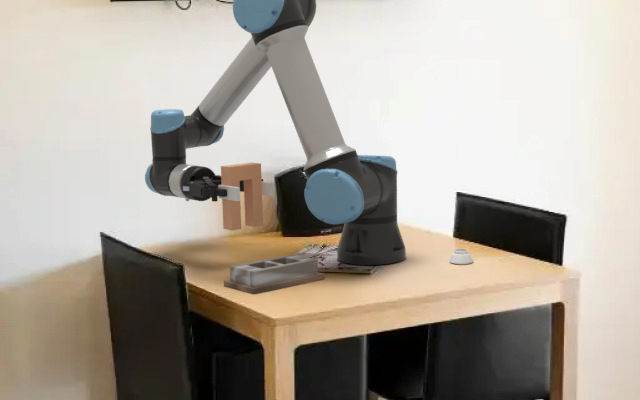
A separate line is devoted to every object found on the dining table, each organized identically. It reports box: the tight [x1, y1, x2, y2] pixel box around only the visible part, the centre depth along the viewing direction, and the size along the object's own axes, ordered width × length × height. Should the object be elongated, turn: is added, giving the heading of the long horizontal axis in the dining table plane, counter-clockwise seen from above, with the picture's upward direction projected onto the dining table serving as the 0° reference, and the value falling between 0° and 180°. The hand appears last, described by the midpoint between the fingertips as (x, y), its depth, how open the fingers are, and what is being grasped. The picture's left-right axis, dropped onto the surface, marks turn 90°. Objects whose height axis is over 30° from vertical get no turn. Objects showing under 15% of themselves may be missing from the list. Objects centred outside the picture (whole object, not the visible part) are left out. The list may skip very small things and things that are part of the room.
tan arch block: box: [220, 162, 264, 231], centre depth 220 cm, size 3×8×13 cm, turn 130°
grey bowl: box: [448, 248, 474, 266], centre depth 229 cm, size 5×3×5 cm
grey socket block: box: [223, 253, 326, 295], centre depth 214 cm, size 10×18×4 cm, turn 131°
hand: (255, 191), depth 216 cm, fingers closed on tan arch block, 8 cm apart
